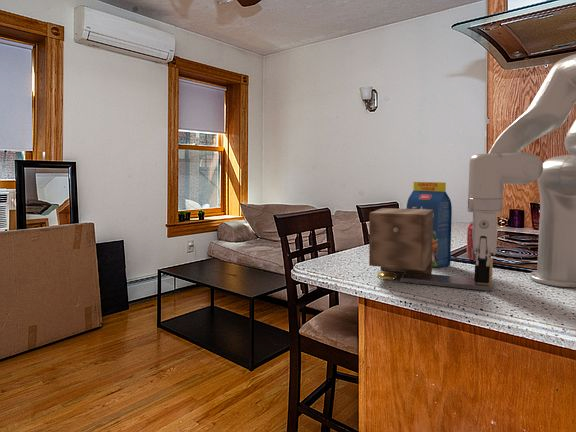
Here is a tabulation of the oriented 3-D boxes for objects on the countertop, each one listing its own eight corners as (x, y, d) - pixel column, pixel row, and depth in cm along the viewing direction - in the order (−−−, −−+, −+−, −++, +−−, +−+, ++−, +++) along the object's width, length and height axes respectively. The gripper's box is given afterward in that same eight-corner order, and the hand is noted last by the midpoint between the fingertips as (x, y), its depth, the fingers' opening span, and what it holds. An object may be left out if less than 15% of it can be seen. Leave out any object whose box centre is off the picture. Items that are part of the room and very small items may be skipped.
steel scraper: (491, 283, 101) (492, 256, 100) (491, 291, 95) (492, 261, 94) (405, 275, 110) (406, 250, 110) (400, 281, 104) (400, 255, 103)
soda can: (483, 257, 131) (485, 220, 129) (495, 262, 124) (497, 223, 122) (462, 258, 130) (463, 221, 129) (473, 263, 123) (474, 224, 122)
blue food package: (436, 268, 118) (438, 182, 115) (405, 261, 128) (406, 182, 125) (450, 265, 121) (452, 182, 118) (419, 258, 131) (420, 181, 129)
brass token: (398, 277, 111) (398, 272, 111) (394, 281, 106) (394, 277, 106) (380, 275, 113) (380, 271, 113) (375, 279, 108) (375, 275, 108)
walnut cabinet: (431, 274, 112) (433, 209, 110) (423, 287, 99) (425, 215, 97) (381, 269, 118) (381, 208, 116) (368, 281, 106) (368, 213, 104)
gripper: (503, 209, 88) (499, 291, 90) (501, 203, 102) (498, 274, 104) (465, 208, 91) (463, 287, 93) (469, 202, 106) (466, 271, 108)
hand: (481, 279), depth 99 cm, fingers closed on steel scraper, 3 cm apart
